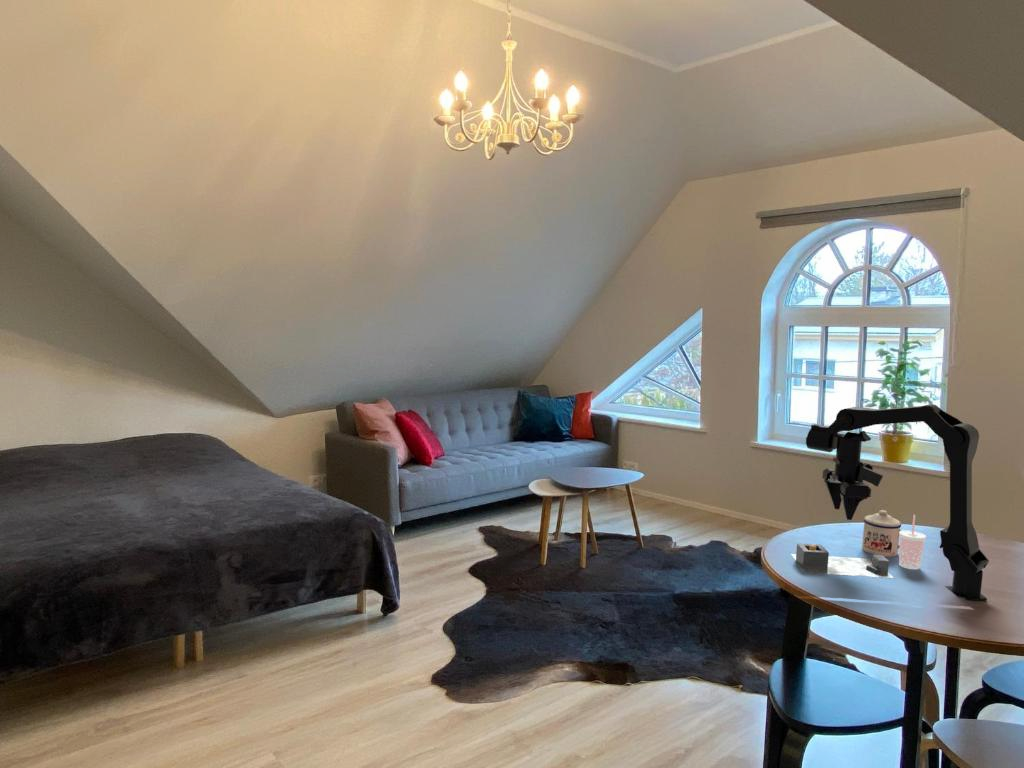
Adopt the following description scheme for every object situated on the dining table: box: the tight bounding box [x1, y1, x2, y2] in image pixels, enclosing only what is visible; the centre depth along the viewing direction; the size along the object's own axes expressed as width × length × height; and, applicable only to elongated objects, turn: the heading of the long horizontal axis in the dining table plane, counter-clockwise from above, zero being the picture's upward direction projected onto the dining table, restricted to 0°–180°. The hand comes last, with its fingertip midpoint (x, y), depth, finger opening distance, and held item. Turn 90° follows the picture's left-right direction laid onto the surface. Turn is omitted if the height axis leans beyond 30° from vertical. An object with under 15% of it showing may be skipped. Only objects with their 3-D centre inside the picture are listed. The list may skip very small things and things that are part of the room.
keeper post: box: [809, 545, 816, 550], centre depth 188 cm, size 2×2×5 cm
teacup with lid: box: [861, 509, 904, 557], centre depth 200 cm, size 12×9×12 cm
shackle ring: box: [795, 542, 830, 570], centre depth 188 cm, size 6×6×4 cm
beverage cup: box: [898, 514, 927, 570], centre depth 190 cm, size 6×6×14 cm
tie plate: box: [790, 553, 895, 579], centre depth 189 cm, size 13×21×4 cm, turn 85°
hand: (842, 514), depth 194 cm, fingers open, 9 cm apart
